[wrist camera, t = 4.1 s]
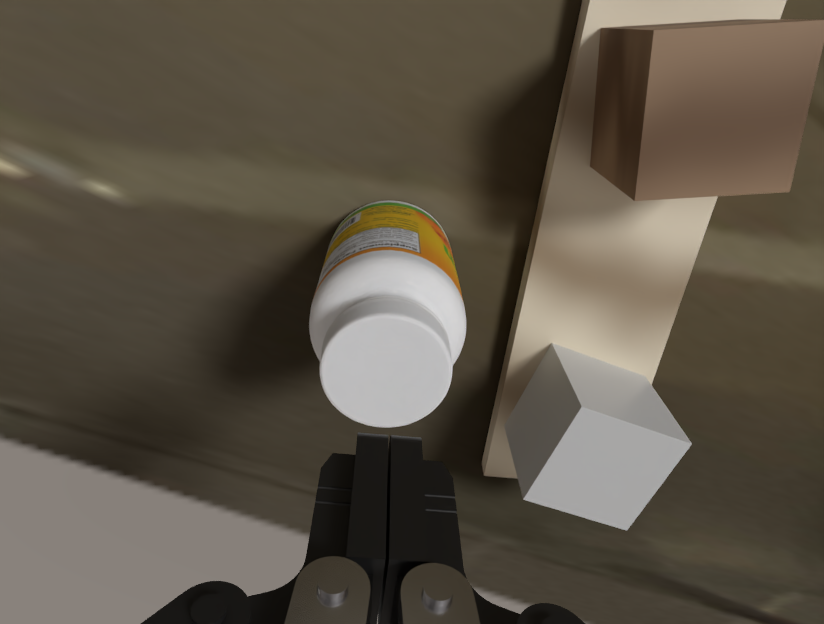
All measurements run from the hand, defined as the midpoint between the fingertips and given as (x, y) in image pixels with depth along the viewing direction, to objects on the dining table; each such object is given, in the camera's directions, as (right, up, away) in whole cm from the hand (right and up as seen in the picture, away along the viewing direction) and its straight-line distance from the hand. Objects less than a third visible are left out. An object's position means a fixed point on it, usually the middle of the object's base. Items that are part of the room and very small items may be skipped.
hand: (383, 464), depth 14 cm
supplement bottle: (0, +6, +13) cm, 14 cm away
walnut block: (+10, +12, +9) cm, 18 cm away
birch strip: (+9, +6, +13) cm, 17 cm away
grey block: (+8, -1, +15) cm, 17 cm away
